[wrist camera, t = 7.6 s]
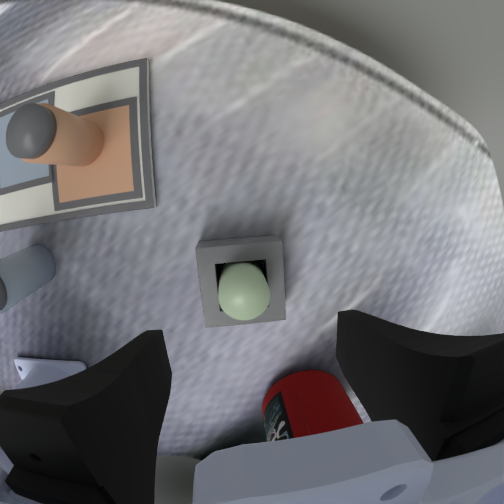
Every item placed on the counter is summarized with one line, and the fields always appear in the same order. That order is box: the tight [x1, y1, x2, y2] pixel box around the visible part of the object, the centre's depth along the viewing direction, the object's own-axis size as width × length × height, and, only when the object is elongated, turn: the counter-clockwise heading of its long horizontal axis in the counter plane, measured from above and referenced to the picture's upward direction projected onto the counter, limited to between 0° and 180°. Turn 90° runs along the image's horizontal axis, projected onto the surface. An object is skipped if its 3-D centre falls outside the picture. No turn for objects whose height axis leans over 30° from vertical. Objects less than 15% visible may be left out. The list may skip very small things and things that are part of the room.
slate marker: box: [0, 245, 55, 313], centre depth 16 cm, size 3×3×7 cm
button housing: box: [196, 235, 286, 328], centre depth 20 cm, size 5×5×2 cm
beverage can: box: [262, 370, 363, 442], centre depth 17 cm, size 7×7×12 cm
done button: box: [218, 260, 270, 320], centre depth 18 cm, size 3×3×3 cm
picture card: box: [0, 58, 156, 232], centre depth 17 cm, size 10×14×1 cm
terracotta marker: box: [6, 103, 104, 167], centre depth 14 cm, size 3×3×7 cm
